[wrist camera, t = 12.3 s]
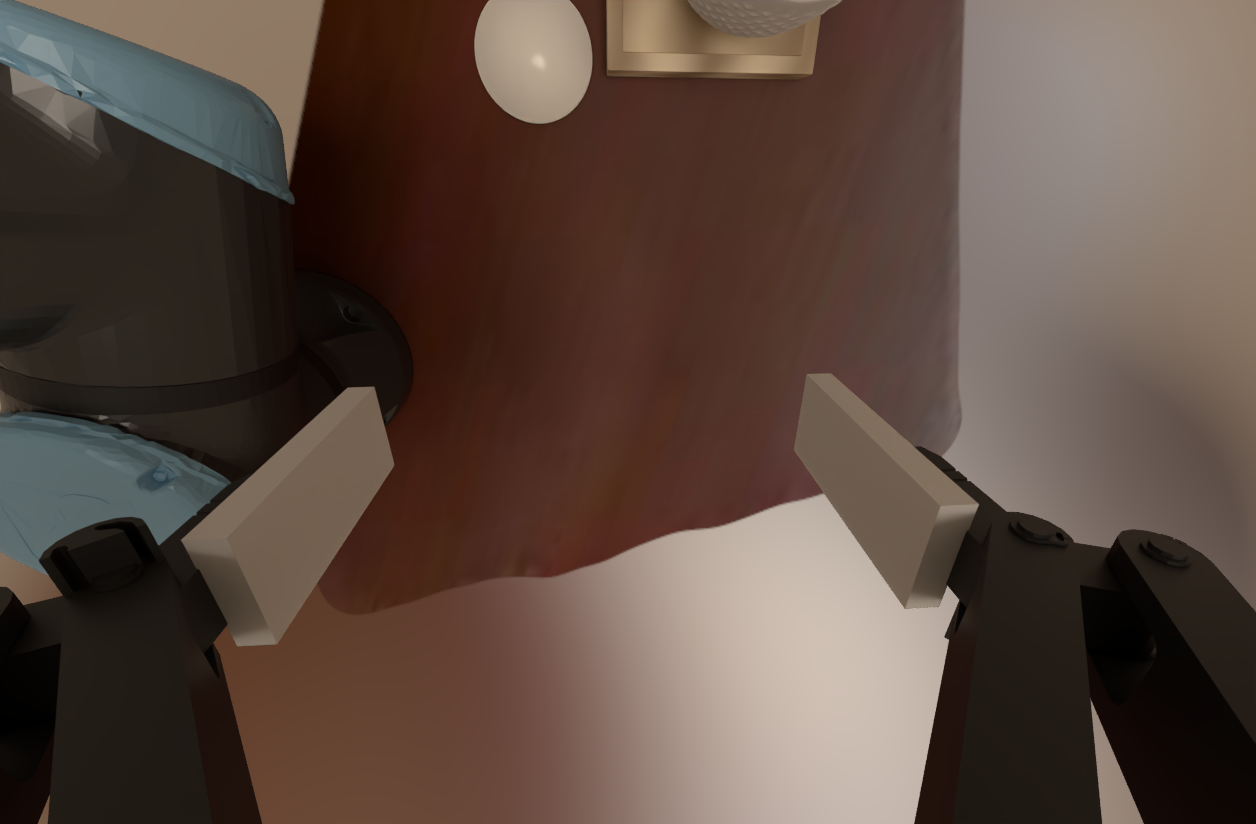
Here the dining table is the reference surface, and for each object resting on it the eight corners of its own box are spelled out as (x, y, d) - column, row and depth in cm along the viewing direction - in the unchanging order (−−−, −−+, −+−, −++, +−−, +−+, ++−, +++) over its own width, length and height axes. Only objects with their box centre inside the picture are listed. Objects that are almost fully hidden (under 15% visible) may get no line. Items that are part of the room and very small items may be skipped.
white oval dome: (495, 132, 37) (492, 131, 36) (463, -4, 33) (459, -8, 32) (601, 114, 37) (601, 113, 36) (581, -24, 33) (580, -29, 32)
